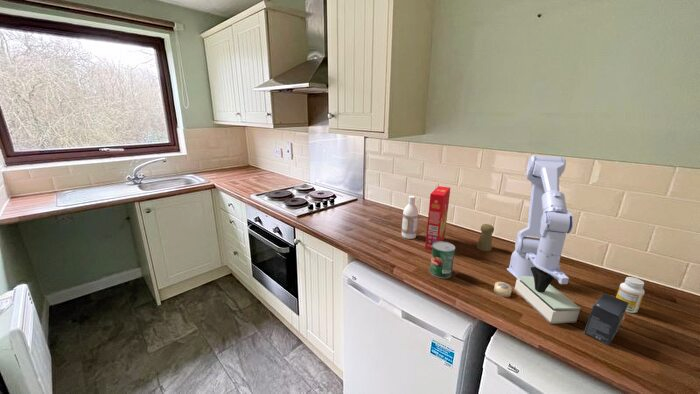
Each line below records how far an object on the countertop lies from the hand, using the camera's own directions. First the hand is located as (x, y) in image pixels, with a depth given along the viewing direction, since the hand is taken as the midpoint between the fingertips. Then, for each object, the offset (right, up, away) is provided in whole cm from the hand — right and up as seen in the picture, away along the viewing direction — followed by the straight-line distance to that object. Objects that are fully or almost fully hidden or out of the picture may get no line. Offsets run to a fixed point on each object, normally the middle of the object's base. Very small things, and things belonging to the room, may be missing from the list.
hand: (539, 291), depth 87 cm
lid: (+2, -1, 0) cm, 2 cm away
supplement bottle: (+27, -6, +1) cm, 28 cm away
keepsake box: (+2, -5, +2) cm, 6 cm away
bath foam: (-30, +10, +49) cm, 58 cm away
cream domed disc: (-7, -3, +8) cm, 11 cm away
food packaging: (-19, +8, +42) cm, 47 cm away
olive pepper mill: (+1, +6, +38) cm, 39 cm away
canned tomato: (-24, 0, +19) cm, 31 cm away
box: (+11, -9, -9) cm, 16 cm away
